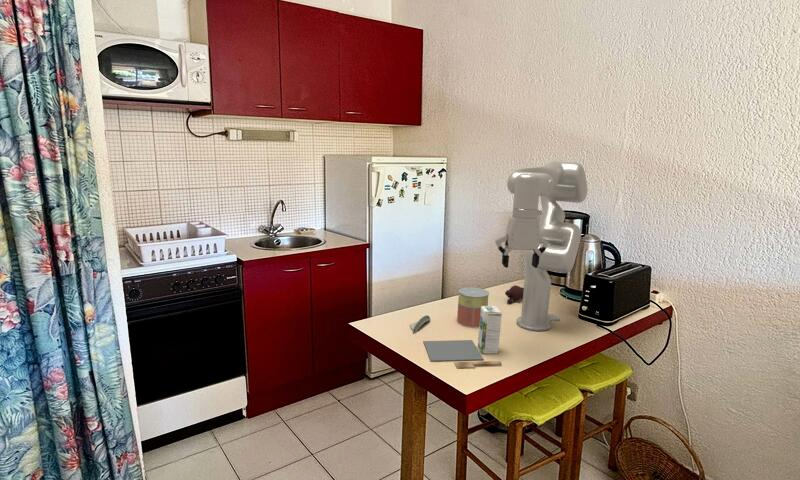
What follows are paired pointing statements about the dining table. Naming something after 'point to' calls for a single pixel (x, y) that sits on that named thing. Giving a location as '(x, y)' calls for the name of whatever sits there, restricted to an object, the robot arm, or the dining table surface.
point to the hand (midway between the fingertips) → (520, 266)
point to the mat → (452, 350)
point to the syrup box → (489, 329)
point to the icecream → (514, 294)
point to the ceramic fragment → (419, 323)
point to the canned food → (471, 306)
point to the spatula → (476, 364)
